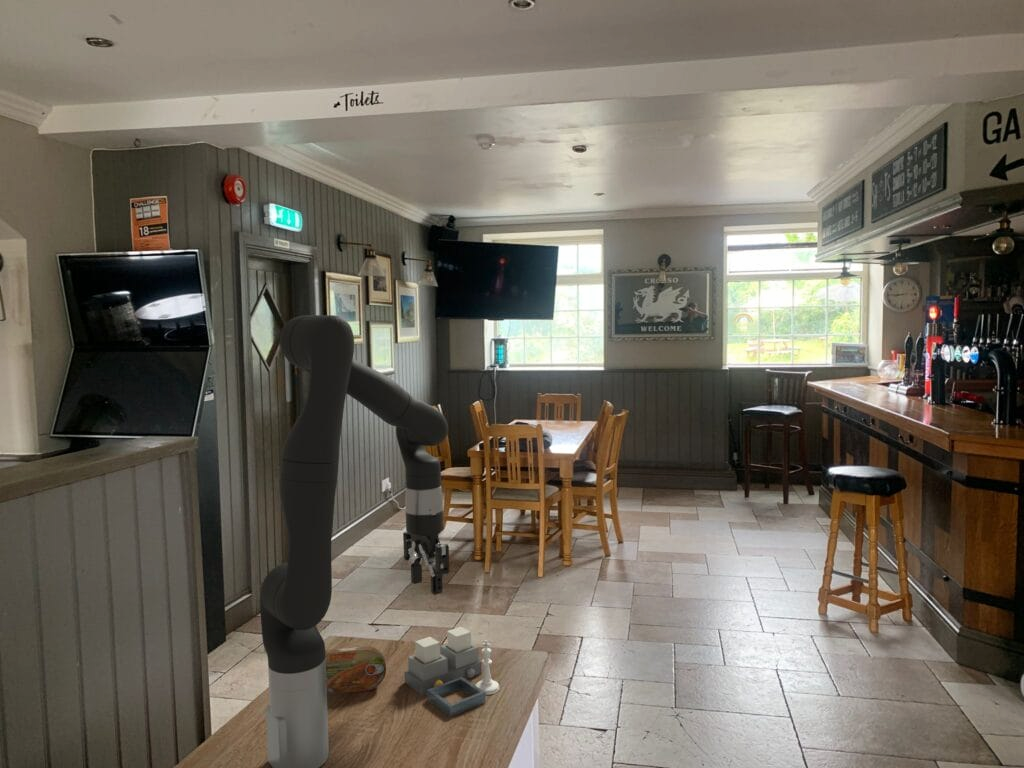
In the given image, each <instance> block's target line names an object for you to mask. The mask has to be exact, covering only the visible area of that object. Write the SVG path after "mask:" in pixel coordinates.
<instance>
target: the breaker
mask: <svg viewBox="0 0 1024 768" xmlns="http://www.w3.org/2000/svg"><path fill="white" fill-rule="evenodd" d="M446 637H447V639H446V640H447V641H446V642H447V643H446V644H447V647H449V648H450V649H452V650H454V651H455V652H460V651H463V650H466V649H468V648H471V643H472V632H471V631H470V630H469V629H467V628H464V627H463V626H458V627H456V628H452V629H449V630H447V631H446Z"/></svg>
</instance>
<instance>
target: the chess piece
mask: <svg viewBox="0 0 1024 768" xmlns="http://www.w3.org/2000/svg"><path fill="white" fill-rule="evenodd" d="M481 646H482V647H484V648H482V649H481V653H482V657H483V659H482V660H481V663H482V665H484V666H483V675H482V679H481V680H479V681H477V683H476V684H474V685H475V686H476V687H478V688H479V689H481V690H482V691H484V692H485V695H486V696H490V695H494V694H496V693H498V692H499V691H498V690H500V684H499V683H498V681H496V680H494V679H492V676H491V671H490V665H491V664H492V663H493V661H492V659H490V657H491V653H492V649H491V648H490V647H491V646H492V644H491V643H489V641H488V639H485V641H484V642H482V643H481Z"/></svg>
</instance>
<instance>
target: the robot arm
mask: <svg viewBox="0 0 1024 768" xmlns="http://www.w3.org/2000/svg"><path fill="white" fill-rule="evenodd" d="M354 336H355V335H354V332H353V329H352V327H351V325H350V323H349V322H348V321H347V320H346V319H345V318H344V317H342V316H339V315H333V314H332V315H330V314H328V315H327V314H325V315H324V314H323V315H322V314H321V315H320V314H318V315H315V314H314V315H313V314H306V315H300V316H295V317H292V318H291V319H289V320H288V321H287V322H285V324H284V325H283V327H282V329H281V332H280V335H279V346H280V350H281V353H282V355H283V356H284V358H285V359H286V361H288V362H289V363H290V364H292V365H293V366H294V367H297V368H299V369H301V370H303V371H305V372H307V373H309V383H308V391H307V396H306V399H305V402H304V405H303V408H302V410H301V412H300V414H299V415H298V418H297V419H296V421H295V422H294V424H293V426H292V427H291V429H290V431H289V433H288V435H287V437H286V439H285V441H284V444H283V447H282V451H281V457H280V458H281V459H280V468H279V469H280V470H279V479H278V481H279V482H278V485H279V486H278V487H279V488H278V489H279V497H280V503H281V509H282V512H283V517H284V520H285V526H286V531H287V536H288V537H287V538H288V557H287V562H283V563H280V564H278V565H276V566H274V567H273V568H272V569H271V570H270V571H268V573H267V575H266V576H265V578H264V579H263V581H262V584H261V587H260V591H259V612H260V613H259V615H260V624H261V625H260V626H261V635H262V636H261V638H262V639H261V640H262V643H263V645H262V646H263V648H264V650H265V653H266V656H267V664H268V665H267V666H268V669H267V671H268V695H269V705H268V706H266V707H265V720H266V721H265V725H266V746H267V747H266V749H267V750H266V751H267V762H268V763H269V765H270V766H271V767H272V768H320V767H322V766H323V765H324V764H325V763H326V762H327V760H328V758H329V755H330V753H329V752H330V751H329V750H330V749H329V748H330V747H329V745H330V741H329V723H328V718H329V717H328V697H327V695H328V694H327V688H326V658H325V651H326V644H325V641H324V639H323V637H322V635H321V633H320V632H319V630H318V627H317V625H318V624H320V622H321V621H322V620H324V617H325V616H326V615H327V613H328V610H329V607H330V605H331V600H332V589H333V582H332V581H333V580H332V579H333V578H332V575H333V574H332V572H333V571H332V570H333V569H332V568H333V567H332V537H333V536H332V535H333V526H334V516H335V515H334V513H335V502H336V501H335V500H336V492H337V484H338V483H337V482H338V475H339V462H340V446H341V445H340V444H341V436H342V428H343V419H344V408H345V401H346V397H347V396H346V395H348V396H350V397H351V398H352V399H355V401H357V402H358V403H360V404H361V405H362V406H364V407H365V408H366V409H368V410H369V412H372V413H373V414H374V415H375V416H376V417H378V418H380V419H381V420H382V421H383V422H385V423H386V424H389V425H390V426H392V427H395V434H396V440H397V444H398V447H399V450H400V454H401V457H402V461H403V463H404V468H405V495H404V497H405V498H404V500H405V501H404V503H405V504H404V505H405V532H403V533H402V535H403V536H402V539H403V540H402V541H403V559H404V560H405V561H408V566H410V581H411V582H410V583H411V584H412V585H416V584H420V583H422V582H423V569H422V568H423V566H422V561H424V565H425V566H426V567H428V570H429V572H430V591H431V594H432V595H435V596H436V595H440V594H441V593H443V589H444V588H443V575H446V574H450V546H449V544H448V543H444V544H443V543H441V542H440V539H439V538H440V537H439V535H440V534H441V533H442V532H443V530H444V528H445V527H444V497H443V490H442V473H441V472H442V471H441V461H440V460H439V458H437V457H435V456H434V455H431V454H429V453H428V452H427V450H426V447H434V446H439V445H440V444H442V443H443V442H444V441H445V440H446V439H447V436H448V434H449V424H448V422H447V419H446V417H445V416H444V415H443V413H442V412H441V411H440V410H438V409H437V408H436V407H434V406H433V405H430V404H428V403H426V402H424V401H422V400H420V399H418V398H416V397H415V396H412V395H411V394H410V393H409V392H408V391H406V390H405V388H403V387H402V386H401V385H400V384H399V383H397V382H396V381H395V380H393V379H392V378H390V377H388V376H387V375H385V374H384V373H382V372H380V371H378V370H376V369H374V368H372V367H370V366H368V365H366V364H363V363H362V362H360V361H358V360H356V359H354V352H355V338H354ZM409 550H410V551H409ZM434 566H435V567H434Z"/></svg>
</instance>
